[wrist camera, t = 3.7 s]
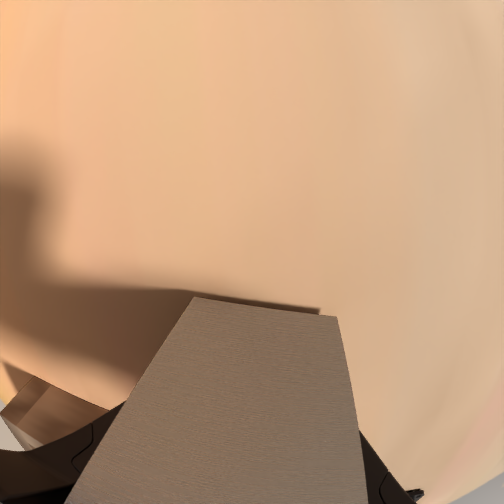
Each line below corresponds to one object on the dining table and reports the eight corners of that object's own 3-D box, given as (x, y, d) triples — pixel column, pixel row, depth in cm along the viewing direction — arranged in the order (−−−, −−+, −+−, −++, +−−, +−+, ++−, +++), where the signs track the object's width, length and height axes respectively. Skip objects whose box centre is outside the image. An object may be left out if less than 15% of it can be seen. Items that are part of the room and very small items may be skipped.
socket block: (158, 427, 14) (130, 487, 10) (174, 490, 17) (159, 531, 13) (34, 375, 15) (-1, 413, 11) (73, 450, 18) (53, 483, 14)
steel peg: (336, 316, 10) (372, 601, 1) (307, 410, 11) (297, 606, 3) (193, 296, 10) (45, 537, 2) (195, 393, 12) (122, 573, 3)
